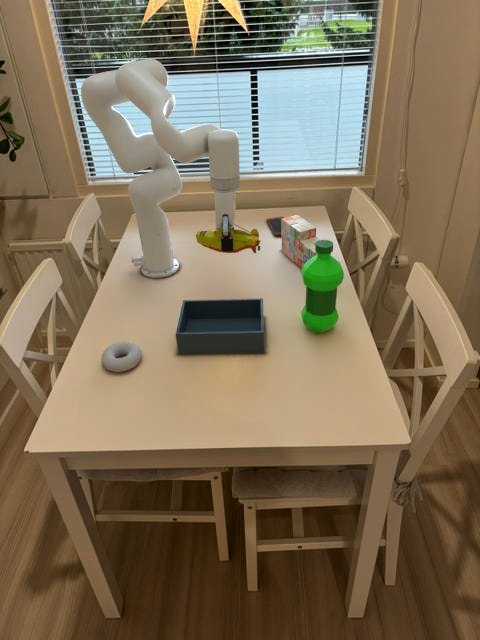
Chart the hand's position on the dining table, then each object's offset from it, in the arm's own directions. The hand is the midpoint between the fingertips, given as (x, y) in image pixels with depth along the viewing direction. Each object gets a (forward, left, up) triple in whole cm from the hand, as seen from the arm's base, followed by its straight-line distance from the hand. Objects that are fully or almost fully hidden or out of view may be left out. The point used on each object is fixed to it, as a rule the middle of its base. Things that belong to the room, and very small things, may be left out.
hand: (228, 244), depth 132 cm
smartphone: (+16, +48, -18) cm, 54 cm away
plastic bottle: (+24, -15, -18) cm, 34 cm away
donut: (-27, -28, -18) cm, 43 cm away
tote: (-2, -18, -18) cm, 26 cm away
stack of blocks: (+23, +21, -18) cm, 36 cm away
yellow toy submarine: (0, 0, -2) cm, 2 cm away
